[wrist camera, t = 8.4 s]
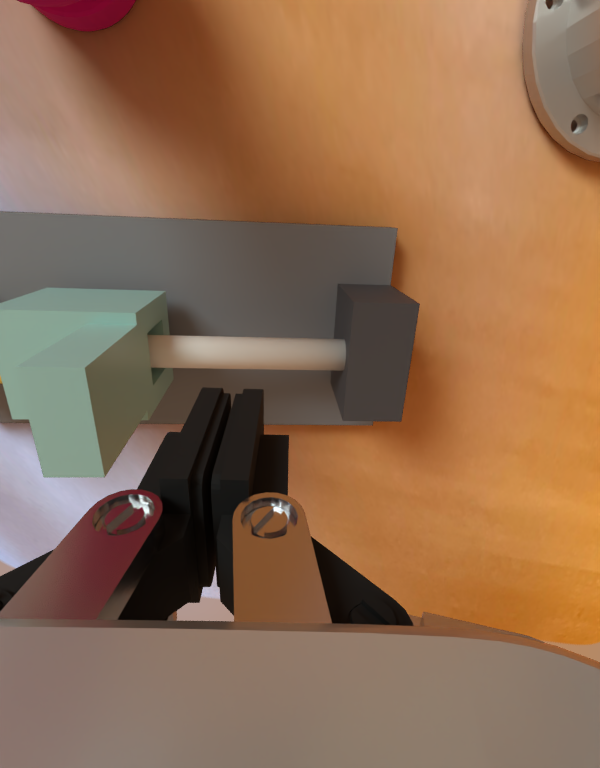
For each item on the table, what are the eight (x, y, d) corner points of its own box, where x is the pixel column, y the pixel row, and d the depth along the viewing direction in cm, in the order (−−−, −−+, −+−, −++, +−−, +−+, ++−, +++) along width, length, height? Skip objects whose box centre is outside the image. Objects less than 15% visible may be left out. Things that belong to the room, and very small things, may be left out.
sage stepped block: (165, 291, 21) (81, 352, 12) (173, 378, 23) (106, 489, 14) (47, 287, 21) (-135, 348, 12) (65, 377, 23) (-78, 489, 14)
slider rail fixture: (390, 227, 23) (449, 235, 15) (367, 414, 28) (404, 494, 20) (-76, 208, 21) (-280, 206, 13) (-15, 411, 26) (-140, 497, 18)
